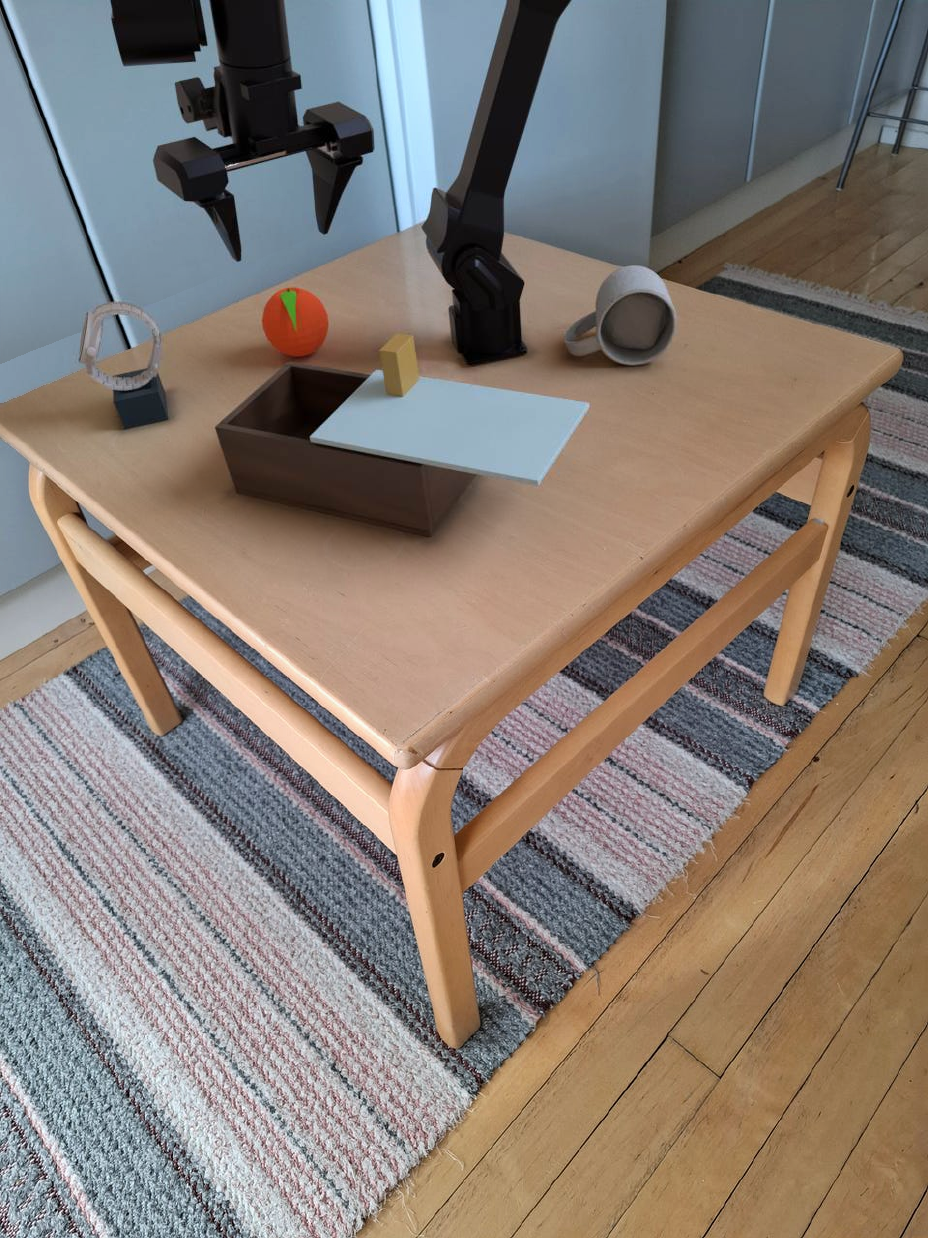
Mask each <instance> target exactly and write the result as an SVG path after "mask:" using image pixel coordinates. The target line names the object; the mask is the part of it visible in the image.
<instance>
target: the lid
mask: <svg viewBox="0 0 928 1238" xmlns="http://www.w3.org/2000/svg"><path fill="white" fill-rule="evenodd" d="M379 357H380V364H381V369H382V370H381V369H376V370H374V371H373V372H372V373H371V374H370V375H371V376H370V377H369V378H368V379H367V380H366V381H365V382H364V383H363V384H362V385H361V386H360V387H359V388H358V389H357V390H356V391H355V392H354V393H353V394H352V395H351V396H350V397H349V398H348V399H347V400H346V401H345V402H344V403H343V404H342V405H341V406H340V407H339V408H338V409H337V410H336V411H335V412H334V413H333V414H332V415H331V416H330V417H329V418H328V419H327V420H326V421H325V422H324V423H323V424H322V425H321V426H320V427H319V428H318V429H317V430H316V431H315V432H314V433H313V434H312V435H311V436H310V440H311V442H314V443H319V444H324V445H329V446H334V447H339V448H345V449H350V450H355V451H360V452H365V453H370V454H375V455H380V456H386V457H391V458H396V459H401V460H406V461H411V462H416V463H421V464H427V465H432V466H437V467H442V468H447V469H452V470H457V471H462V472H468V473H473V474H477V476H478V475H479V476H483V477H489V478H494V479H499V480H505V481H509V482H515V483H520V484H524V485H530V486H533V487H534V486H535V487H539V486H540V484H541V482H542V481H543V480H544V478H545V476H546V475H547V474H548V471H549V470H550V469H551V468H552V466H553V465H554V463H555V461H556V460H557V458H558V457H559V455H560V454H561V452H562V450H563V449H564V447H565V446H566V445H567V443H568V442H569V440H570V438H571V436H572V435H573V434H574V432H575V430H576V429H577V427H578V426H579V424H580V423H581V421H582V420H583V418H584V417H585V415H586V414H587V412H588V411H589V409H590V403H589V402H587V401H580V400H574V399H567V398H560V397H556V396H555V397H554V396H548V395H542V394H535V393H530V392H524V391H523V392H522V391H516V390H509V389H503V388H496V387H491V386H485V385H478V384H471V383H466V382H458V381H451V380H446V379H440V378H439V379H438V378H433V377H425V376H421V375H419V370H418V369H419V367H418V360H417V353H416V346H415V339H414V335H412V334H404V333H395V334H394V335H393V336H392V337H391V338H390V339H388V340H387V342H386V343H385V344H384V345H383V346H382V347H381V348H380V349H379Z"/></svg>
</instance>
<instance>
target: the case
mask: <svg viewBox="0 0 928 1238" xmlns="http://www.w3.org/2000/svg"><path fill="white" fill-rule="evenodd" d="M371 375H372V374H370V373H363V372H356V371H349V370H345V369H338V368H332V367H325V366H319V365H313V364H306V363H300V362H295V361H287V362H286V363H285V364H284V365H283V366H282V367H281V368H280V369H279V370H277V371H276V372H275V373H274V374H273V375H271V376H270V377H269V378H268V379H267V380H266V381H265V382H264V383H263V384H261V385H259V387H258V388H257V389H255V391H253V392H252V393H251V394H250V395H249V396H248V397H246V399H244V400H243V401H242V402H241V403H240V404H239V405H238V406H236V407H235V408H234V409H233V410H232V411H231V412H229V413H228V414H227V415H226V416H225V417H224V418H223V419H222V420H221V421H219V423H217V424H215V426H214V429H215V433H216V435H217V438H218V442H219V445H220V449H221V451H222V454H223V456H224V457H223V458H224V460H225V463H226V466H227V469H228V472H229V476H230V478H231V481H232V484H233V487H234V491H235V493H236V494H239V495H244V496H247V497H251V498H252V497H253V498H257V499H261V500H266V501H269V502H275V503H279V504H284V505H289V506H292V507H296V508H301V509H305V510H310V511H314V512H318V513H321V514H322V513H323V514H326V515H331V516H335V517H340V518H345V519H350V520H353V521H358V522H361V523H362V522H363V523H368V524H372V525H375V526H379V527H385V528H389V529H392V530H398V531H402V532H406V533H411V534H415V535H420V536H424V537H428V538H431V537H433V535H434V533H435V532H436V531H437V529H438V528H439V527H440V526H441V524H442V523H443V522H444V520H445V519H446V517H447V516H448V515H449V514H450V512H451V511H452V509H453V508H454V506H455V505H456V504H457V503H458V501H459V500H460V499H461V497H462V496H463V494H464V493H465V491H466V490H467V489H468V488H469V486H470V485H471V484H472V482H473V481H474V480H475V478H476V476H478V474H473V473H468V472H462V471H457V470H452V469H447V468H442V467H437V466H432V465H427V464H421V463H416V462H411V461H406V460H401V459H396V458H391V457H386V456H380V455H375V454H370V453H365V452H360V451H355V450H350V449H345V448H339V447H334V446H329V445H324V444H319V443H314V442H311V440H310V436H311V435H312V434H313V433H314V432H315V431H316V430H317V429H318V428H319V427H320V426H321V425H322V424H323V423H324V422H325V421H326V420H327V419H328V418H329V417H330V416H331V415H332V414H333V413H334V412H335V411H336V410H337V409H338V408H339V407H340V406H341V405H342V404H343V403H344V402H345V401H346V400H347V399H348V398H349V397H350V396H351V395H352V394H353V393H354V392H355V391H356V390H357V389H358V388H359V387H360V386H361V385H362V384H363V383H364V382H365V381H366V380H367V379H368V378H369V377H370V376H371Z"/></svg>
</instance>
